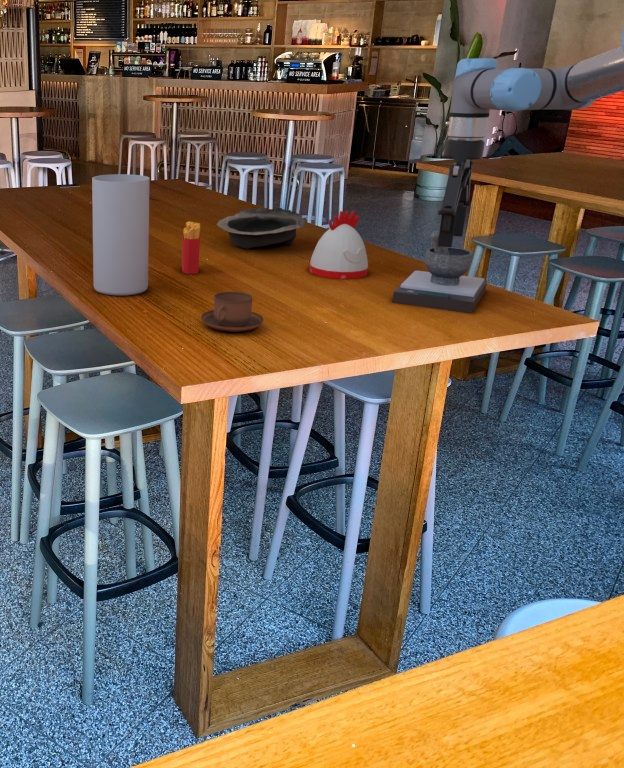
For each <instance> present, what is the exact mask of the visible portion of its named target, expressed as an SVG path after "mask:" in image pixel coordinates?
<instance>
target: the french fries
mask: <svg viewBox="0 0 624 768" xmlns="http://www.w3.org/2000/svg"><path fill="white" fill-rule="evenodd" d="M182 232H183V233H182V236H181V237H182V240H181V243H182V244H181V247H182V248H181V271H182V273H183V274H186V275H196V274H199V267H200V266H199V265H200V250H201V249H200V248H201V236H200V233H201V223H200V222H199V223H198V222H196V221H195V222H194V221H190V220H188V221H187V222H185V227H184V228H183V231H182Z"/></svg>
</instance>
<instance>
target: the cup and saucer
mask: <svg viewBox="0 0 624 768" xmlns="http://www.w3.org/2000/svg"><path fill="white" fill-rule="evenodd" d="M252 308H253V296H252V295H251V294H249V293H246V292H240V291H222V292H221V291H220V292H218V293H216V294H214V296H213V309H212V310H207V311H205V312H203V314H201V317H200V318H201V321H202V322H203V323H204V324H205V326H207V327H209V328H211V329H214V330H218V331H222V332H228V333H229V332H231V333H236V332H237V333H239V332H247V331H252V330H254V329H257V328H258V327H260V326H261V325H262V324H263V322H264V317H263V316H262V315H261V314H259V313H257V312H253V311H252Z"/></svg>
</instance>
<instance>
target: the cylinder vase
mask: <svg viewBox="0 0 624 768" xmlns="http://www.w3.org/2000/svg"><path fill="white" fill-rule="evenodd" d="M91 179H92V180H91V181H92V183H91V189H92V190H91V191H92V192H91V193H92V194H91V195H92V196H91V197H92V201H91V202H92V273H93V274H92V275H93V276H92V277H93V279H92V280H93V289H94V290H95V291H96V292H97V293H100V294H102V295H106V296H112V297H114V296H115V297H126V296H127V297H128V296H136V295H141V294H142V293H144V292H146V291H147V290H148V288H149V250H150V249H149V246H150V245H149V244H150V240H149V239H150V180H151V179H150V177H149V176H147V175H140V174H126V173H125V174H124V173H121V174H120V173H119V174H118V173H117V174H102V175H101V174H100V175H96V176H93V177H92V178H91Z"/></svg>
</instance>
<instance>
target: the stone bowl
mask: <svg viewBox="0 0 624 768" xmlns="http://www.w3.org/2000/svg"><path fill="white" fill-rule="evenodd" d="M307 218H308V216H306V217H303V214H301V213H298V212H296V211H293V210H291V209H283V208H282V207H277V208H275V209H274V208H273V209H272V208H258V207H256V208H245V209H240V211H239V212H236V213H235V214H234V215H228V216H226V217H224V218H223V219H220V220H219V221H217V223H216V226H217V227H219V228H220V229H222V230H223V231H225V232H227V235H228V236H229V238H230V241H231V242H232V244H233V246H234V247H239V248H242V249H246V250H249V249H252V248H260V247H267V246H271V245H274V244H275V245H277V244H282V245H286V246H289V245H292V244H293V243H294V240H295V239H296V238H297V229H301V228H303V227H305V225H306V221H307Z"/></svg>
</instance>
